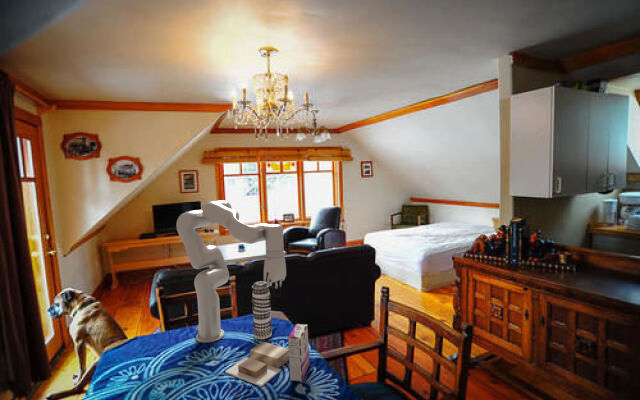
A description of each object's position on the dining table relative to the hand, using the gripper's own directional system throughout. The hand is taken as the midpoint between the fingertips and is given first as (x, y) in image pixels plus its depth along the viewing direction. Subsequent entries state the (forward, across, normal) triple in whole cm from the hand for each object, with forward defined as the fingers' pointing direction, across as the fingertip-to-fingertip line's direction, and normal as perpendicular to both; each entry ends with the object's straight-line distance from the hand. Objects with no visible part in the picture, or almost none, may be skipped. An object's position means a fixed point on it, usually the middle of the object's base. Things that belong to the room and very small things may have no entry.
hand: (276, 296), depth 141 cm
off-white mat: (+23, +18, +2) cm, 29 cm away
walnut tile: (+20, +18, +2) cm, 27 cm away
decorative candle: (+23, -7, -15) cm, 29 cm away
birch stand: (+23, +8, +2) cm, 25 cm away
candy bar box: (+23, +10, +18) cm, 31 cm away
